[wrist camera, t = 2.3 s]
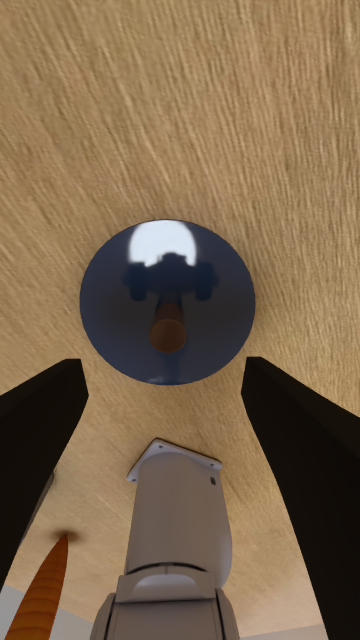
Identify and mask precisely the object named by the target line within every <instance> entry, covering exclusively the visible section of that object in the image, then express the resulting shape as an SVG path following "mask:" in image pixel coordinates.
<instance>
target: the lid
mask: <svg viewBox="0 0 360 640" xmlns="http://www.w3.org/2000/svg"><path fill="white" fill-rule="evenodd" d="M80 312H81V318H82V322H83V326H84V329H85V331H86V333H87V336H88V338H89V340H90V341H91V343H92V345H93V346H94V348H95V349H96V350H97V352H98V353H99V354H100V355H101V356H102V357H103V358H104V359H105V360H106V362H108V363H109V364H110V365H111V366H113V367H114V368H115V369H117V370H118V371H120V372H121V373H123V374H125V375H127V376H129V377H131V378H133V379H136V380H139V381H142V382H146V383H150V384H156V385H181V384H187V383H192V382H195V381H199V380H201V379H203V378H206V377H208V376H210V375H212V374H214V373H216V372H217V371H219V370H220V369H221V368H223V367H224V366H225V365H227V364H228V363H229V362H230V361H231V360H232V359H233V358H234V357H235V356H236V355H237V354H238V352H239V351H240V349H241V348H242V347H243V345H244V343H245V341H246V340H247V338H248V336H249V333H250V330H251V328H252V324H253V320H254V315H255V292H254V287H253V282H252V279H251V276H250V273H249V271H248V269H247V267H246V265H245V263H244V261H243V260H242V259H241V257H240V256H239V254H238V253H237V252H236V251H235V250H234V249H233V247H232V246H231V245H230V244H229V243H228V242H226V241H225V240H224V239H223V238H221V237H220V236H219V235H217V234H215V233H214V232H212V231H210V230H209V229H207V228H204V227H202V226H199V225H197V224H194V223H190V222H185V221H181V220H170V219H164V220H152V221H148V222H143V223H139V224H137V225H134V226H131V227H129V228H127V229H125V230H123V231H121V232H119V233H118V234H116V235H115V236H113V237H112V238H111V239H110V240H108V241H107V242H106V243H105V244H104V245H103V246H102V247H101V248H100V249H99V250H98V251H97V253H96V254H95V256H94V257H93V258H92V260H91V261H90V263H89V265H88V267H87V270H86V272H85V274H84V278H83V281H82V284H81V291H80Z"/></svg>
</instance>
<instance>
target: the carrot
mask: <svg viewBox="0 0 360 640" xmlns="http://www.w3.org/2000/svg"><path fill="white" fill-rule="evenodd" d="M67 556H68V538H67V535H64V536H63V537H62V538H60V540H59V541H58V542H57V543H56V545H55V546H54V547H53V548H52V550H51V551H50V553H49V554H48V556H47V557H46V559H45V560H44V561H43V563H42V565H41V566H40V568H39V570H38V572H37V574H36V575H35V577H34V579H33V581H32V583H31V584H30V586H29V588H28V590H27V592H26V594H25V596H24V598H23V600H22V602H21V604H20V606H19V608H18V610H17V613H16V615H15V617H14V619H13V621H12V624H11V626H10V628H9V630H8V632H7V635H6V637H5V639H4V640H49V637H50V633H51V630H52V626H53V623H54V619H55V616H56V612H57V609H58V605H59V600H60V596H61V591H62V587H63V582H64V577H65V572H66V566H67Z"/></svg>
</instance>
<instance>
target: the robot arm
mask: <svg viewBox="0 0 360 640" xmlns="http://www.w3.org/2000/svg"><path fill="white" fill-rule="evenodd" d="M241 395H242V399H243V402H244V406H245V409H246V412H247V415H248V418H249V420H250V422H251V424H252V427H253V429H254V431H255V434H256V436H257V438H258V440H259V443H260V445H261V447H262V449H263V452H264V454H265V456H266V458H267V461H268V463H269V465H270V467H271V470H272V472H273V474H274V477H275V479H276V481H277V484H278V486H279V489H280V492H281V495H282V497H283V500H284V503H285V506H286V509H287V512H288V514H289V517H290V520H291V523H292V526H293V529H294V532H295V535H296V538H297V541H298V544H299V547H300V550H301V553H302V556H303V559H304V562H305V565H306V568H307V571H308V574H309V577H310V581H311V584H312V587H313V590H314V593H315V597H316V600H317V603H318V606H319V609H320V613H321V616H322V619H323V622H324V625H325V629H326V632H327V636H328V639H329V640H360V418H359V417H358V416H356V415H354V414H352V413H350V412H349V411H347V410H345V409H343V408H342V407H340V406H338V405H336V404H335V403H333V402H331V401H330V400H328V399H326V398H325V397H323V396H321V395H320V394H318V393H317V392H315V391H313V390H312V389H310V388H309V387H307V386H305V385H304V384H302V383H301V382H299V381H298V380H296V379H295V378H293V377H292V376H290V375H289V374H287V373H286V372H284V371H283V370H281V369H280V368H278V367H277V366H275V365H274V364H272V363H270V362H269V361H267V360H266V359H264V358H262V357H247V359H246V365H245V371H244V377H243V383H242V389H241ZM88 397H89V394H88V390H87V385H86V381H85V376H84V372H83V367H82V363H81V359H65V360H63V361H61V362H59V363H57V364H55V365H53V366H51V367H49V368H48V369H46V370H44V371H43V372H41V373H39V374H37V375H36V376H34V377H32V378H30V379H29V380H27V381H25V382H24V383H22V384H20V385H18V386H17V387H15V388H13V389H11V390H10V391H8V392H6V393H4V394H2V395H1V396H0V593H1V590H2V587H3V585H4V582H5V580H6V577H7V575H8V572H9V570H10V567H11V565H12V562H13V560H14V557H15V555H16V553H17V550H18V548H19V545H20V543H21V540H22V538H23V535H24V533H25V531H26V528H27V526H28V524H29V521H30V519H31V517H32V514H33V512H34V510H35V507H36V505H37V503H38V500H39V498H40V496H41V494H42V492H43V490H44V488H45V486H46V484H47V482H48V480H49V478H50V476H51V474H52V472H53V470H54V468H55V466H56V464H57V463H58V461H59V459H60V457H61V455H62V453H63V451H64V449H65V447H66V445H67V444H68V442H69V440H70V438H71V436H72V434H73V432H74V430H75V428H76V426H77V424H78V422H79V420H80V418H81V416H82V413H83V411H84V408H85V405H86V403H87V400H88ZM221 468H222V463H221V462H219V461H216V460H213V459H211V458H208V457H205V456H202V455H200V454H197V453H194V452H191V451H189V450H186V449H183V448H180V447H178V446H175V445H172V444H169V443H167V442H164V441H161V440H158V439H156V440H154V441H153V442H152V443H151V445H150V446H149V447H148V449H147V450H146V451H145V452H144V454H143V455H142V456H141V458H140V459H139V460H138V462H137V463H136V464H135V466H134V467H133V468H132V470H131V471H130V472H129V473H128V475H127V480H128V481H130V482H134V483H137V489H136V495H135V502H134V509H133V515H132V522H131V529H130V535H129V542H128V549H127V555H126V562H125V569H124V575H120V576H119V579H118V585H117V591H116V593H110V594H109V595H108V596H107V598H106V600H105V602H104V603H103V605H102V606H101V607H100V609H99V611H98V613H97V616H96V619H95V622H94V625H93V629H92V632H91V636H90V640H240V637H239V632H238V628H237V623H236V619H235V615H234V611H233V608H232V605H231V603H230V601H229V600H228V598H227V597H226V595H225V593H224V591H223V590H222V589H221V588H222V587H223V585H224V584H225V582H226V581H227V578H228V576H229V573H230V569H231V562H232V538H231V531H230V525H229V520H228V515H227V510H226V505H225V500H224V495H223V490H222V485H221V479H220V474H219V470H220V469H221Z"/></svg>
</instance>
